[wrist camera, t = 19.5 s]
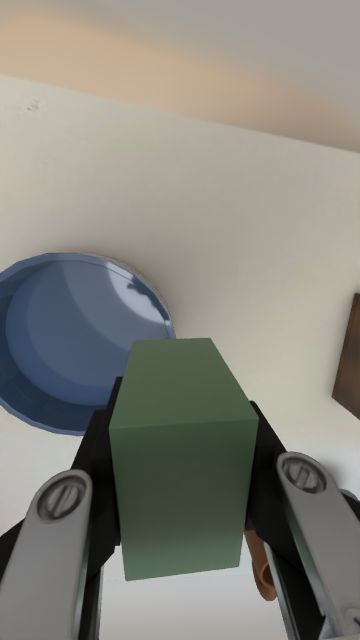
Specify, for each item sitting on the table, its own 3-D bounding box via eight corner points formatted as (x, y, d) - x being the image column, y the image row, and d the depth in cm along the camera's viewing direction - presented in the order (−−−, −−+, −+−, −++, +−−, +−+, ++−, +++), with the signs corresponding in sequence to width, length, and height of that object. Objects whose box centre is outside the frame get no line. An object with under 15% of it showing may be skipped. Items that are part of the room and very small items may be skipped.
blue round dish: (-18, 254, 21) (-62, 254, 17) (171, 252, 23) (174, 252, 19) (22, 412, 26) (-4, 443, 22) (174, 401, 28) (177, 428, 24)
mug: (262, 524, 37) (296, 612, 28) (219, 523, 36) (239, 614, 27) (285, 469, 34) (332, 548, 25) (238, 466, 32) (270, 547, 24)
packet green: (133, 339, 10) (107, 427, 5) (210, 337, 10) (260, 417, 5) (139, 441, 11) (125, 582, 6) (205, 436, 11) (239, 568, 7)
